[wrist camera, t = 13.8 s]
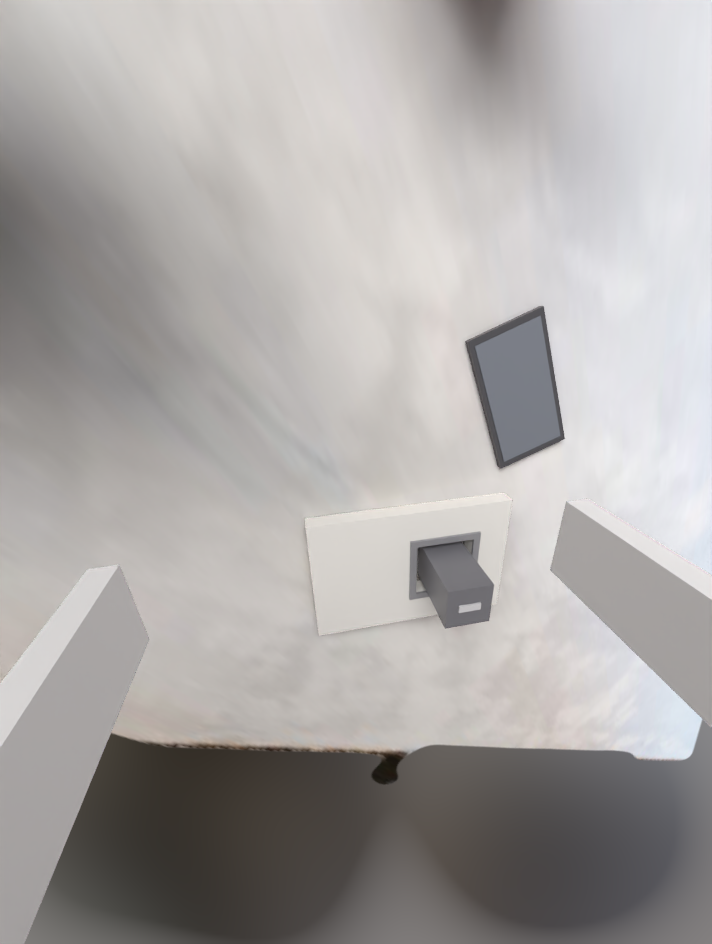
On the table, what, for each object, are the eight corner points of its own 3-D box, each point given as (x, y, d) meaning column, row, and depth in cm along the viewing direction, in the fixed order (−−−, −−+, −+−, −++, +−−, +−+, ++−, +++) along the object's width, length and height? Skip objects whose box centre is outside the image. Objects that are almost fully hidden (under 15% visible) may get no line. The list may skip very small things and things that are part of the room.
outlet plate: (317, 623, 46) (318, 637, 44) (304, 518, 40) (305, 529, 38) (489, 594, 50) (497, 606, 48) (503, 492, 43) (514, 501, 41)
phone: (495, 464, 42) (501, 468, 41) (462, 340, 36) (468, 341, 34) (557, 435, 42) (565, 439, 41) (535, 306, 35) (544, 306, 34)
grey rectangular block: (417, 573, 46) (445, 630, 38) (418, 540, 44) (449, 593, 36) (453, 567, 47) (489, 622, 38) (456, 535, 45) (495, 585, 36)
